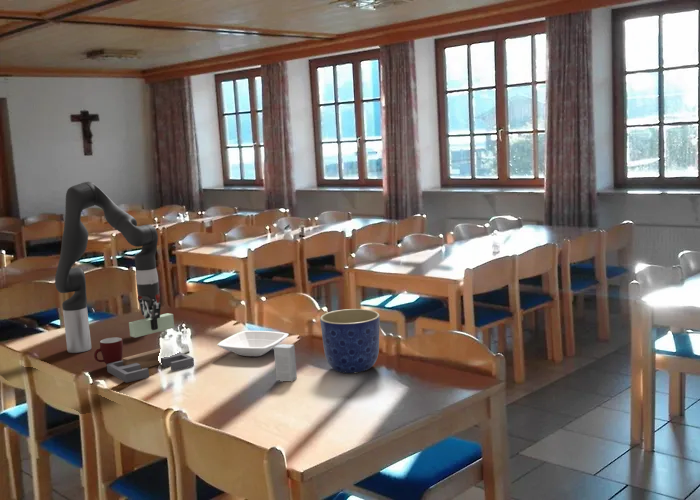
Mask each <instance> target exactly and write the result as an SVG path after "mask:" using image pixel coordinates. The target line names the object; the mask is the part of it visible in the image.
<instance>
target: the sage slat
mask: <svg viewBox="0 0 700 500" xmlns="http://www.w3.org/2000/svg"><path fill="white" fill-rule="evenodd" d="M157 324H158V329H157V330H152V329H151V319H150V318H145V317H144V318H141V319H138V320H134V321H129V322H128V328H129V329H128V330H129V337H132V338H140V337H143V336H147V335H151V334H152V335H153V334H155V333H161V332H163V331H167V330H171V329H174V328H175V318H174V314H173V313H168V312H167V313H163V314H160V318H158V319H157Z"/></svg>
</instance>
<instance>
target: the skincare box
mask: <svg viewBox="0 0 700 500" xmlns="http://www.w3.org/2000/svg"><path fill="white" fill-rule="evenodd" d="M273 352H274V353H273V354H274V366H275V381H276V380H280V381H279V382H283V381H293V380H294V381H295V380H297V377H298V376H297V362H296V351H295V344H290V343H289V344H285V343H282V344H281V343H279V344H278V345H277V346H275V347H273ZM294 381H293V382H294Z"/></svg>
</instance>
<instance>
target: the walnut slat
mask: <svg viewBox="0 0 700 500" xmlns="http://www.w3.org/2000/svg"><path fill="white" fill-rule="evenodd" d="M161 348H162V347H159V348H156V349H152V350H148V351H145V352H141V353H137V354H134V355H129V356H126V357H122V360H123V366H125V365H129V364H133V363H138V364H140V365H141V369H144V368H150V367H151V368H152V367H154V366H158V365H160V364H159V361H158V356H159V353H160V349H161Z"/></svg>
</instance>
